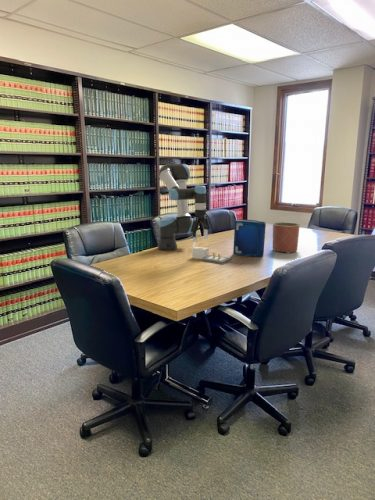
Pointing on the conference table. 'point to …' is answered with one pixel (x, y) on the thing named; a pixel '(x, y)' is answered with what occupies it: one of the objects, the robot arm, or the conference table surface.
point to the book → (249, 238)
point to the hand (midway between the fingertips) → (200, 240)
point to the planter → (285, 236)
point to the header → (216, 259)
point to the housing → (199, 252)
